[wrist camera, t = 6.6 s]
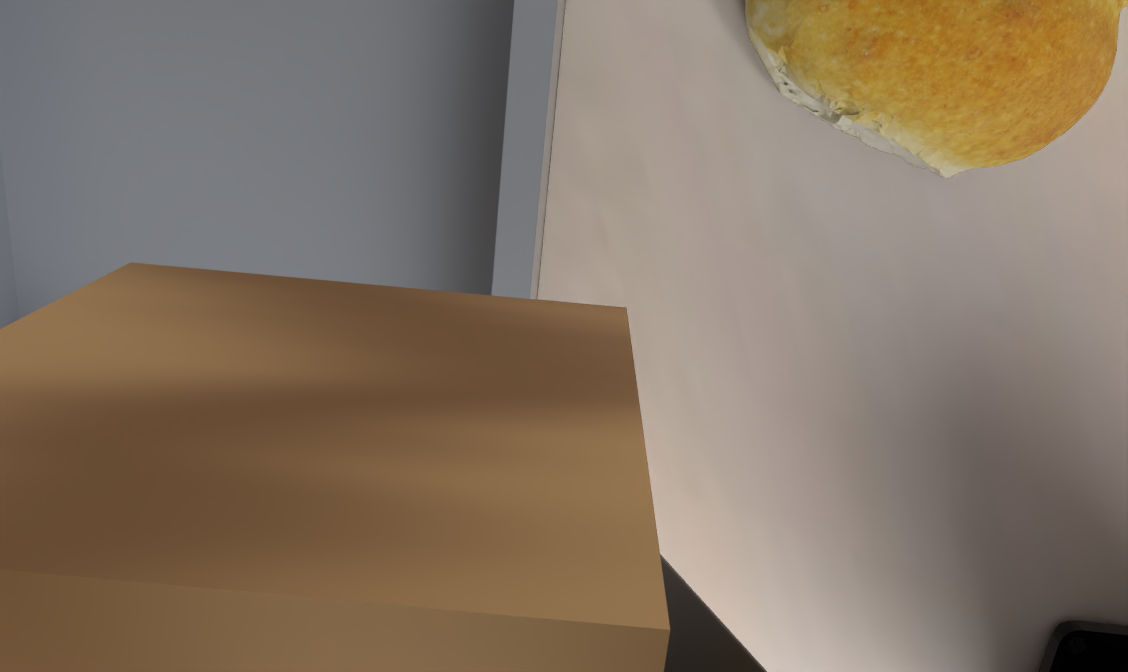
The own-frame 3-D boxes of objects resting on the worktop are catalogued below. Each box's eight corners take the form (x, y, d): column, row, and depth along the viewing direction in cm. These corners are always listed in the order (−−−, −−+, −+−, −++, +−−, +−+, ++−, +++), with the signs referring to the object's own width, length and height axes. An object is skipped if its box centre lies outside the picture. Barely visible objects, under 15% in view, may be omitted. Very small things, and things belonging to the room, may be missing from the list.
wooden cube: (625, 308, 9) (670, 628, 4) (579, 704, 10) (573, 1258, 6) (130, 262, 9) (-399, 533, 4) (163, 666, 10) (-187, 1192, 6)
